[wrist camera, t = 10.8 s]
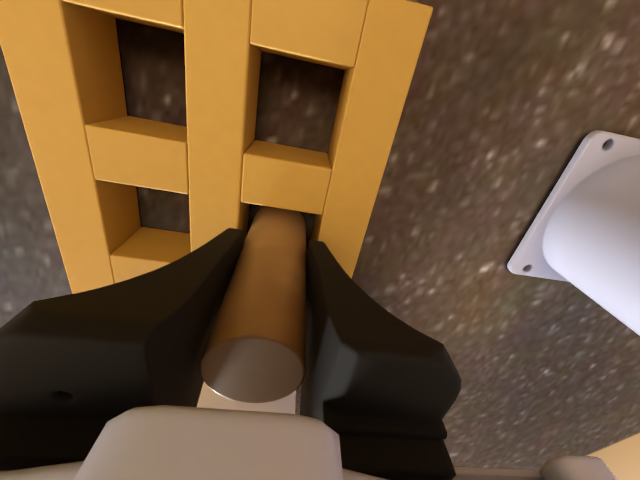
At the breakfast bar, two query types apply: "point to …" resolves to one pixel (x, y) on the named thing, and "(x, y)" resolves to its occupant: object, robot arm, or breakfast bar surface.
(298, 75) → the breakfast bar surface
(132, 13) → the peg block
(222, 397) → the medicine bottle
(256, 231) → the peg
